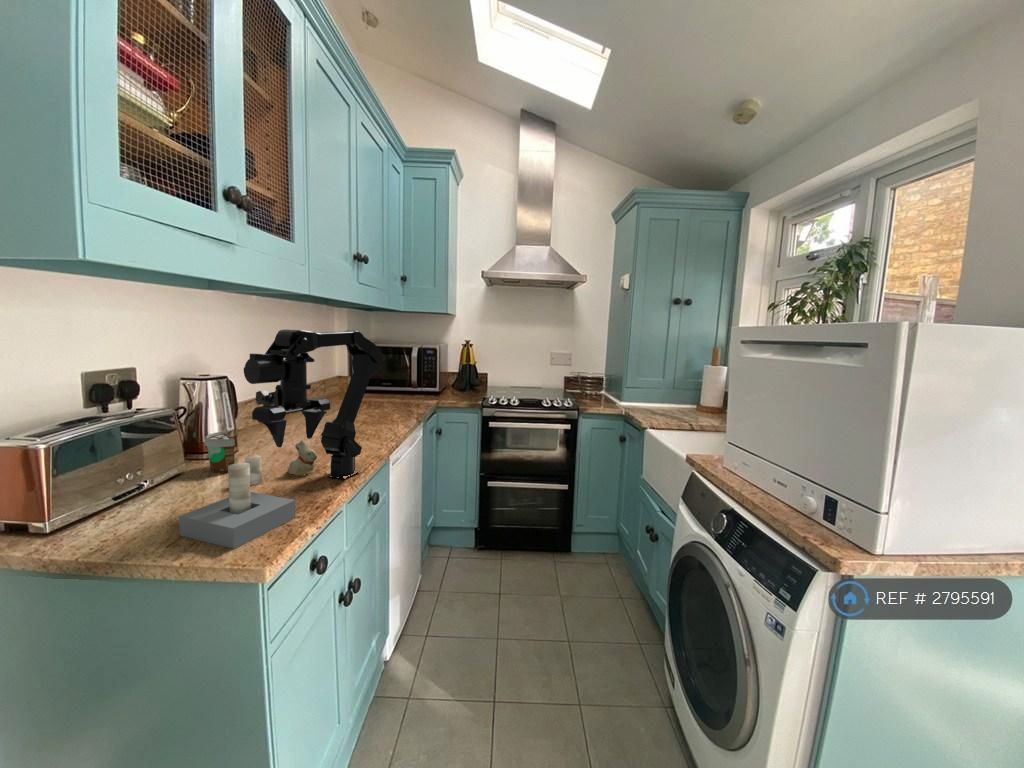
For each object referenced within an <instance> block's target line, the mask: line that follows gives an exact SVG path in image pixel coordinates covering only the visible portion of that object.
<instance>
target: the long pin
mask: <svg viewBox="0 0 1024 768" xmlns="http://www.w3.org/2000/svg"><path fill="white" fill-rule="evenodd" d="M227 475H228V478H227V479H228V497H229V504H230V513H233V514H241V513H243V512H245V511H247V510H250V509H251V494H250V492H251V485H250V464H249V463H245V462H237V463H235V464H232V465H229V466H228V473H227Z"/></svg>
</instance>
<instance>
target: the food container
mask: <svg viewBox="0 0 1024 768" xmlns="http://www.w3.org/2000/svg"><path fill="white" fill-rule="evenodd" d="M203 444H204V446H205V447H206V448H207V454H208V462H209V469H210V472H212V473H215V474H228V466H229V465H232V464H236V463H235V461H236V459H235V446H236V444H235V438H231V436H230V435H228V431H227V430H224V431H217V432H213V433H210V434H207V435H206V438H204V443H203Z"/></svg>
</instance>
